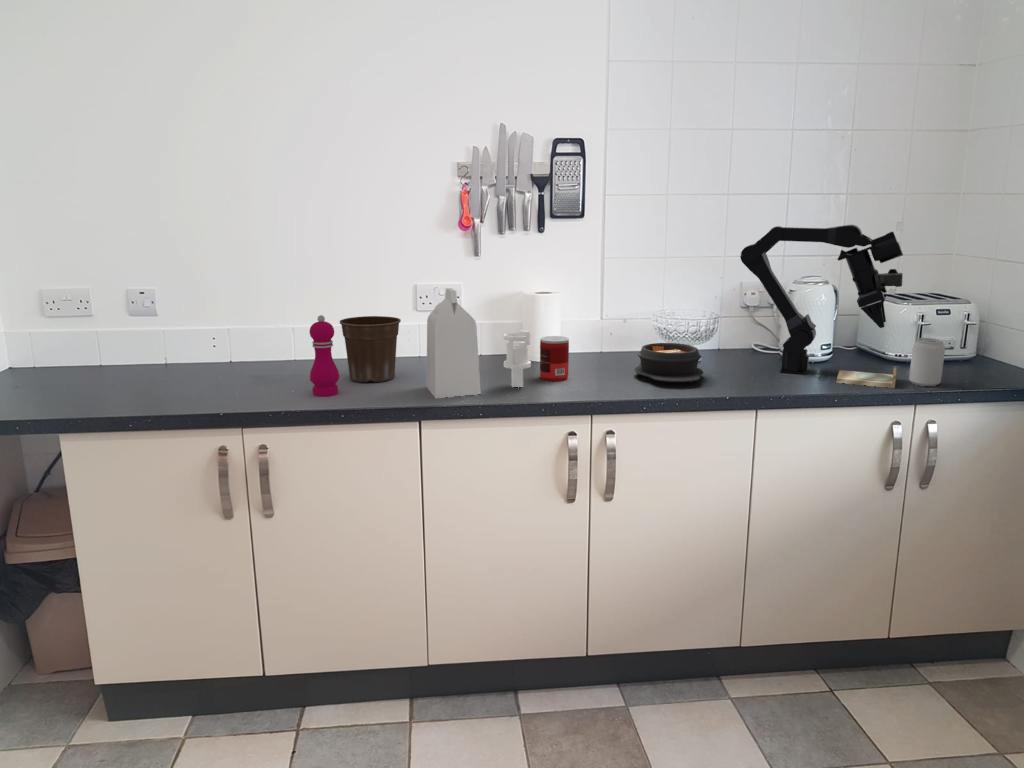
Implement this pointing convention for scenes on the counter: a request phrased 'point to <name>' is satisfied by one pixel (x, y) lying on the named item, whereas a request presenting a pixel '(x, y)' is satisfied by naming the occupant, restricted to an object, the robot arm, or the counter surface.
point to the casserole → (669, 362)
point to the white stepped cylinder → (517, 355)
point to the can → (927, 362)
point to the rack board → (867, 378)
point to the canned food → (554, 358)
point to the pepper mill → (323, 359)
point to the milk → (452, 350)
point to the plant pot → (371, 347)
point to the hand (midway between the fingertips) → (883, 324)
